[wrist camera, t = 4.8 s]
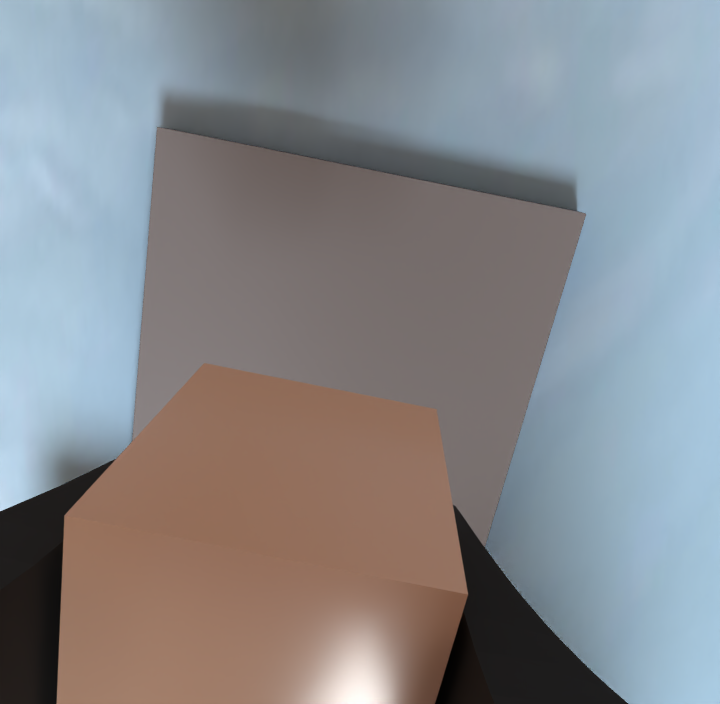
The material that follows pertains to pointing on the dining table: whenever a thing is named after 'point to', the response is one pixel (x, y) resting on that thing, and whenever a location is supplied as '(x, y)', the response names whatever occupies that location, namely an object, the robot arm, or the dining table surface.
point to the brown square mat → (353, 292)
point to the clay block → (264, 553)
